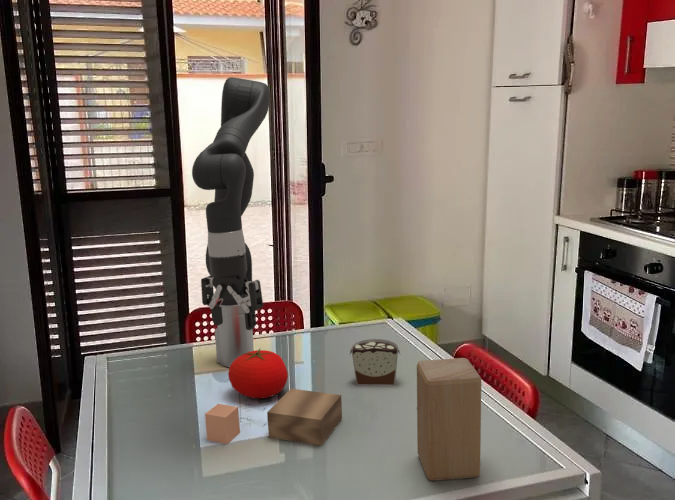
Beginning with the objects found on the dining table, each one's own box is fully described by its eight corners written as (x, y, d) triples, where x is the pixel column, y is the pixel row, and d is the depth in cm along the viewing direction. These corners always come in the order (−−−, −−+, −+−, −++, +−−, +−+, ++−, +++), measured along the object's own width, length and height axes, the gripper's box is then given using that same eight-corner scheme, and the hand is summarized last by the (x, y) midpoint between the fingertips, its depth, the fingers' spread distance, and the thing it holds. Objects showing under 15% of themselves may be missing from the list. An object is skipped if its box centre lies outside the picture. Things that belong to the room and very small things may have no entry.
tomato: (298, 387, 162) (296, 347, 159) (272, 409, 150) (269, 367, 148) (249, 379, 168) (246, 340, 165) (220, 400, 156) (216, 358, 154)
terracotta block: (207, 440, 138) (204, 413, 136) (220, 429, 142) (218, 403, 141) (227, 444, 136) (225, 417, 135) (240, 433, 140) (238, 406, 139)
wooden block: (416, 454, 129) (415, 358, 125) (466, 450, 130) (467, 355, 125) (427, 483, 119) (427, 380, 115) (481, 479, 120) (483, 376, 116)
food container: (401, 375, 167) (400, 338, 164) (400, 385, 161) (400, 347, 158) (352, 375, 168) (351, 338, 166) (350, 385, 162) (349, 346, 160)
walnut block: (268, 438, 138) (267, 412, 137) (292, 413, 149) (291, 388, 148) (321, 447, 134) (320, 419, 133) (342, 420, 145) (341, 395, 143)
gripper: (188, 253, 136) (196, 328, 139) (243, 257, 129) (250, 336, 132) (212, 246, 143) (219, 318, 146) (265, 249, 136) (272, 324, 139)
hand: (234, 326), depth 139 cm, fingers open, 8 cm apart
